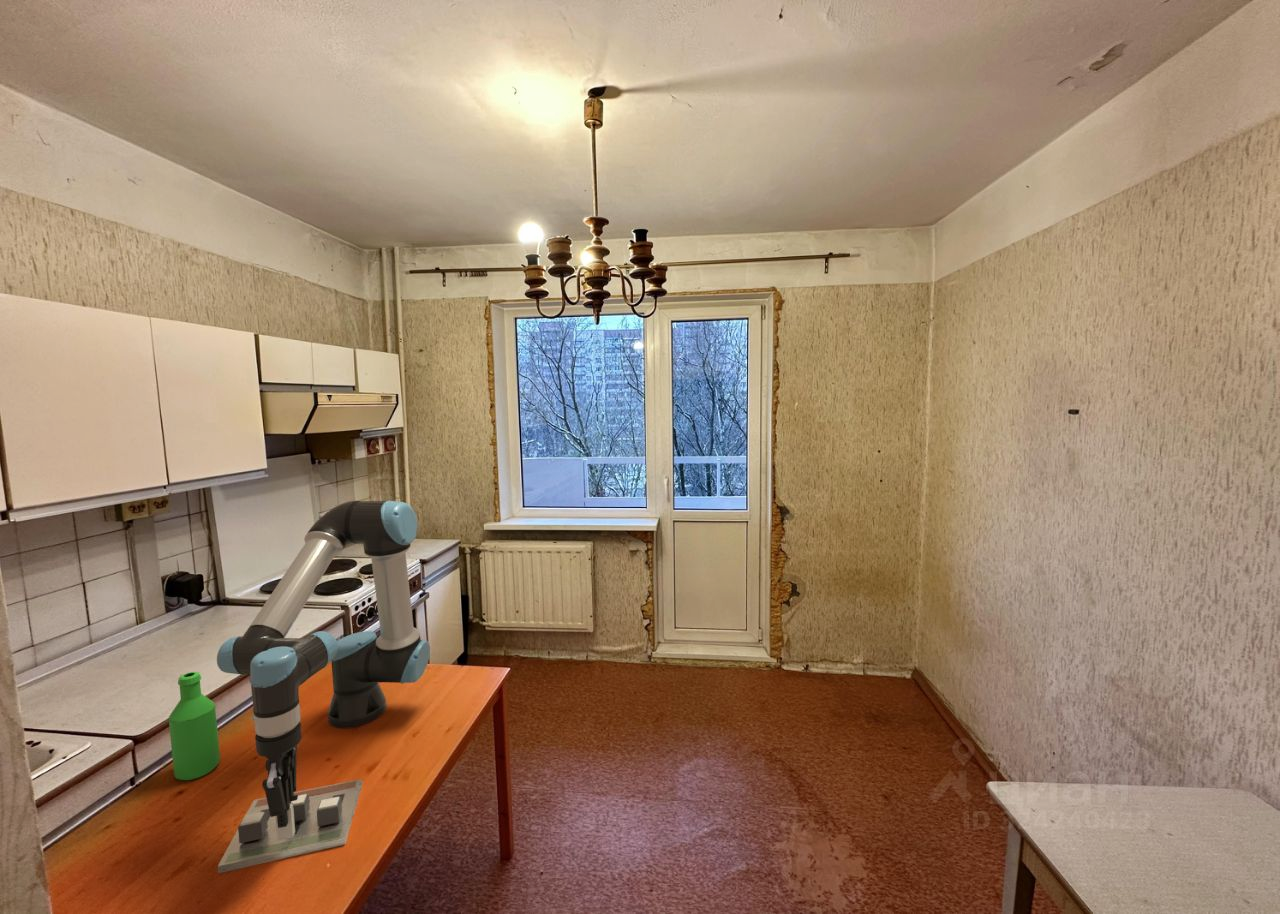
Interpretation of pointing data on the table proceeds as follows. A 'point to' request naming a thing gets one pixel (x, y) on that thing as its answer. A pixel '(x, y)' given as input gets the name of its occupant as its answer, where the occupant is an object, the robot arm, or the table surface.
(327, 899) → the table surface
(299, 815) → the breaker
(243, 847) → the panel
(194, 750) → the bottle
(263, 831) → the breaker
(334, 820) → the block
